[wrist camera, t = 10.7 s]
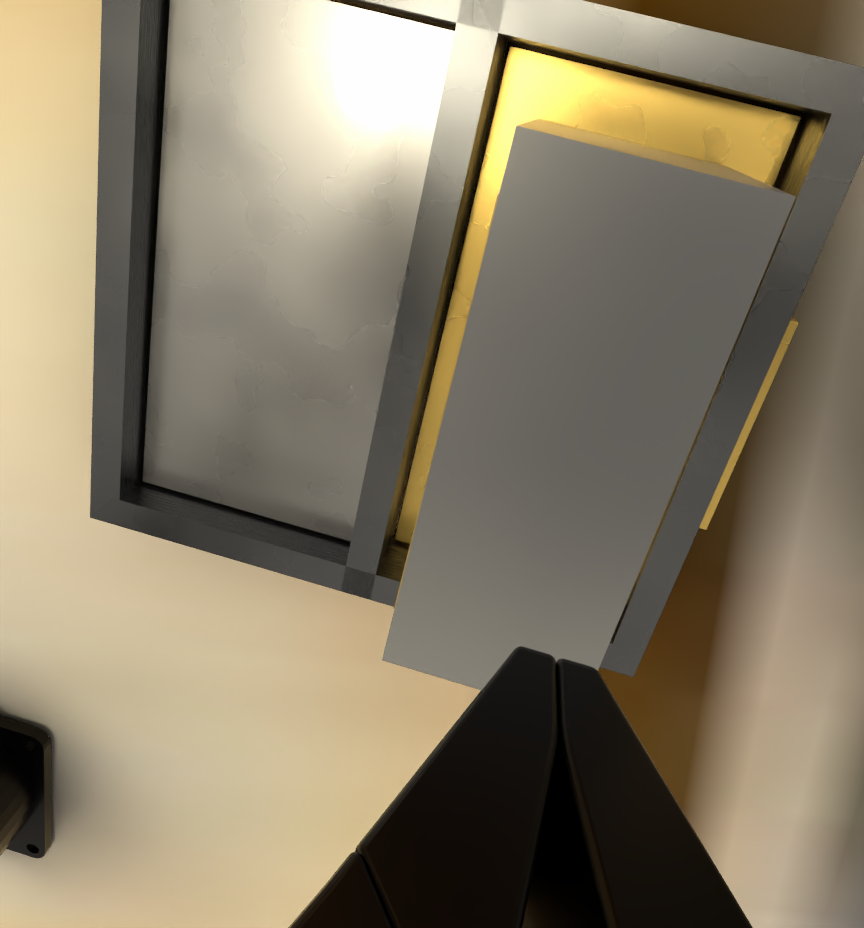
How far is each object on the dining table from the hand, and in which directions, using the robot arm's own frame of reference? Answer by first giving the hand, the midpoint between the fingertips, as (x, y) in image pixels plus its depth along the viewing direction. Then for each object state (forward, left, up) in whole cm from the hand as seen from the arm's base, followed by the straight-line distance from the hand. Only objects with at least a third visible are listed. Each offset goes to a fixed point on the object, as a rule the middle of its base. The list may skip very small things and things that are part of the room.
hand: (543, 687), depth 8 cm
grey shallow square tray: (0, +4, -12) cm, 12 cm away
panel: (0, 0, -12) cm, 12 cm away
